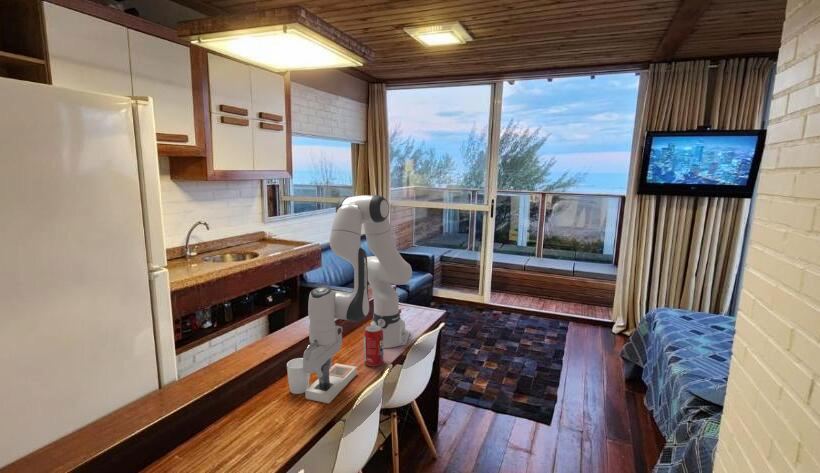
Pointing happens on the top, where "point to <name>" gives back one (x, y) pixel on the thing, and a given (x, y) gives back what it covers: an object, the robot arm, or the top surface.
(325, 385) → the pin
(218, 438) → the top surface
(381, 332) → the soda can
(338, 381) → the dock board
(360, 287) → the robot arm
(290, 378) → the white cup
